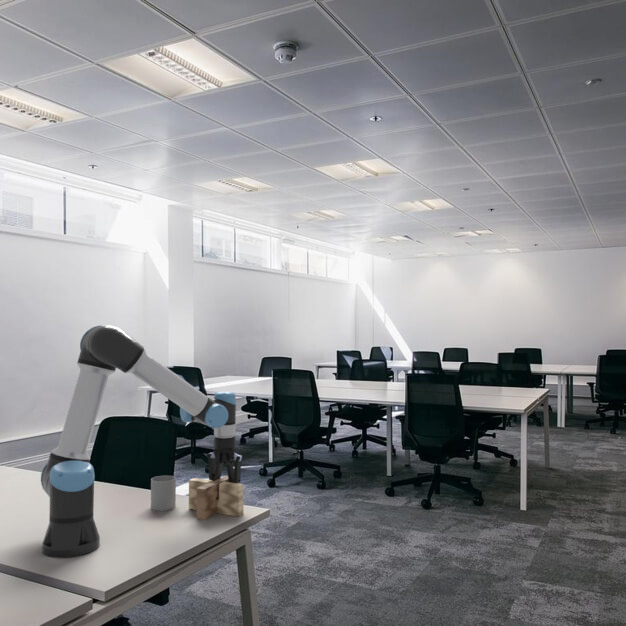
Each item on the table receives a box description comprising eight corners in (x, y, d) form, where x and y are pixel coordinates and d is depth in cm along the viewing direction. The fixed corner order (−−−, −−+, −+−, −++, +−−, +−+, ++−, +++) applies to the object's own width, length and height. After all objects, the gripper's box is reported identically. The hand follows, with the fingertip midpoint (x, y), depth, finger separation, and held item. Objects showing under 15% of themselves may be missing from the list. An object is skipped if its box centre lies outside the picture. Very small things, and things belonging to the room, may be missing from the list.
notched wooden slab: (243, 513, 199) (243, 484, 199) (238, 516, 196) (238, 486, 197) (193, 506, 207) (194, 478, 207) (188, 509, 204) (188, 480, 205)
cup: (178, 504, 210) (179, 475, 211) (171, 511, 202) (171, 481, 202) (155, 503, 211) (156, 475, 211) (147, 510, 203) (147, 481, 203)
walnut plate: (225, 504, 210) (226, 475, 211) (233, 505, 209) (233, 476, 209) (196, 518, 194) (196, 488, 194) (204, 519, 193) (204, 489, 193)
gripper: (251, 436, 208) (251, 503, 207) (210, 432, 214) (209, 497, 214) (240, 439, 201) (240, 509, 200) (198, 436, 207) (197, 503, 207)
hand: (224, 503), depth 207 cm, fingers open, 4 cm apart
